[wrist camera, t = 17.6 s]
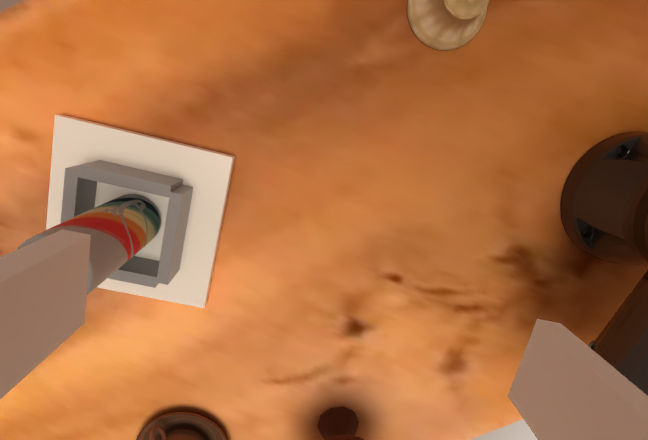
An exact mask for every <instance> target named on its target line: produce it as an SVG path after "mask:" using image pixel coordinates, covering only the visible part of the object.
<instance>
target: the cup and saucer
mask: <svg viewBox="0 0 648 440" xmlns="http://www.w3.org/2000/svg"><path fill="white" fill-rule="evenodd" d="M136 440H227V438H226V436H225V434H224V433H223V431H222V430H221V429H220V428H219V427H218V426H217V425H216V424H215V423H214V422H212V421H211V420H209V419H207V418H205V417H203V416H201V415H198V414H194V413H188V412H174V413H169V414H165V415H162V416H159V417H157V418H155V419H154V420H152V421H151V422H149V423H148V424H147V425H146V426H145V427H144V428H143V429H142V431H141V432H140V433H139V435H138V437H137V439H136Z"/></svg>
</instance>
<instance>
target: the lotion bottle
mask: <svg viewBox="0 0 648 440" xmlns="http://www.w3.org/2000/svg"><path fill="white" fill-rule="evenodd" d="M160 226H161V217H160V213H159V211H158V209H157V207H156V206H155V205H154V204H153V203H152V202H151V201H150V200H149V199H147V198H145V197H143V196H140V195H136V194H127V195H123V196H120V197H117V198H115V199H113V200H110V201H108V202H106V203H104V204H102V205H99V206H97V207H95V208H93V209H91V210H89V211H86V212H84V213H82V214H80V215H78V216H76V217H73V218H71V219H69V220H67V221H65V222H63V223H60V224H58V225H56V226H54V227H52V228H50V229H47V230H45V231H43V232H41V233H39V234H37V235H35V236H33V237H31V238H29V239H27V240H26V241H25V242H23V243H22V244H21V245H20V246H19V247H18V249H20V248H22V247H24V246H26V245H29V244H31V243H33V242H35V241H38V240H40V239H42V238H44V237H47V236H49V235H51V234H53V233H55V232H58V231H60V230H62V229H63V230H68V231H73V232H79V233H84V234H89V235H91V239H90V253H89V267H88V281H87V294H86V296H87V295H88V294H89V293H90V292H92V291H93V290H94V289H95V288H96V287H98V286H99V285H100V284H101V283H102V282H103V281H105V280H106V279H107V278H108V277H109V276H110V275H112V274H113V273H114V272H115V271H116V270H118V269H119V268H120V267H121V266H122V265H123V264H125V263H126V262H127V261H128V260H129V259H130V258H132V257H133V256H134V255H135V254H136V253H137V252H139V251H140V250H141V249H142V248H143V247H145V246H146V245H147V244H148V243H149V242H150V241H151V240H152V239H153V238H154V237H155V236H156V235H157V233H158V232H159V229H160ZM18 249H17V250H18Z"/></svg>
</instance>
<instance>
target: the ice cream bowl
mask: <svg viewBox="0 0 648 440" xmlns="http://www.w3.org/2000/svg"><path fill="white" fill-rule="evenodd" d="M358 423H359V421H358V419H357V417H356V415H355V413H354V412H353V411H351V410H348V409H346V408H344V407H338V408H330V409H329V410H327V411H326V412H325V413H324V414H322V415H321V416H320V419H319V423H318V428H319V430H320V432H321V434H322V436H323V438H324V439H325V440H363V439H361V438H359V437H357V436H355V434H356V430H357V427H358Z"/></svg>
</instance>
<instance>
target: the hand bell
mask: <svg viewBox="0 0 648 440" xmlns="http://www.w3.org/2000/svg"><path fill="white" fill-rule="evenodd" d="M488 3H489V0H408V6H407V14H408V19H409V22H410V25H411V28H412V30H413V32H414V33H415V35H416V36H417V37H418V39H419V40H420V41H421V42H423V43H424V44H425V45H427V46H429V47H431V48H433V49H437V50H452V49H456V48H458V47H461V46H463V45H465V44H466V43H468V42H469V41H470V40H471V39H472V38H473V37H474V36H475V35H476V34H477V32H478V31H479V30H480V28H481V26H482V24H483V22H484V19H485V16H486V12H487V5H488Z"/></svg>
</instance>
